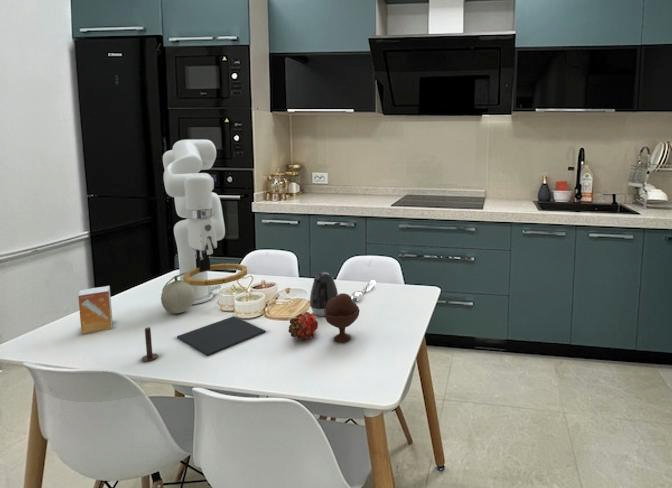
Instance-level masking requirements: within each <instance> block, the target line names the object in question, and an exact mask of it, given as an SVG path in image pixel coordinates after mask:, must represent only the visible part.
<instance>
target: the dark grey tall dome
mask: <svg viewBox="0 0 672 488" xmlns="http://www.w3.org/2000/svg"><path fill="white" fill-rule="evenodd" d="M338 295H339V292H338V288H337V285H336V282H335V280H334V278H333V275H331V273H329V272H328V271H320V272H318V273H317V275H316V276H315V278H314V279H313V282H312V286H311V290H310V294H309V307H310V308H311V311H312V312H313V314H314V315H317V316H319V317H325V313H324V310H325V309H326V305H327V303H328V301H329V300H330V299H332V298H333V297H336V296H338Z"/></svg>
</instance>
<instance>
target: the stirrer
mask: <svg viewBox="0 0 672 488" xmlns="http://www.w3.org/2000/svg"><path fill="white" fill-rule="evenodd" d="M376 283H377V282H376V281H375V280H370V281H368V282H367V284H366V286H365V289H364V290H362V291H360V290H357V291H354V292H353V293H351V295H350V297H351V298H352V302H354V303H357V302H359V301H360V300H361V299H362V298H363V296H364V293H367V292H370V291H371V290H372V289H373V288H374V287H375V286H376Z"/></svg>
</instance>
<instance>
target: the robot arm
mask: <svg viewBox="0 0 672 488" xmlns="http://www.w3.org/2000/svg"><path fill="white" fill-rule="evenodd" d="M216 159H217V148H216V145H215V144H214V142H213V141H212V140H210V139H180V140H178V141H176V142H175V143H174V144H173V145H172V149H170V150H167V151H165V152H164V153H163V155H162V164H163V169H164V171H163V184H164V189H165V192H166V194H167V195H168V196H169V197H171V198H174V199H173V200H174V206H175V212H176V214H177V216H178V217H179V218H182V219H181V220H179V221H178V222H176V223H175V224H174V226H173V235H174V240H175V243H176V248H177V257H178V269H179V270H178V273H179V274H182V273H186V272H189V271H191V270H193V269H196V268H200V272H201V273H198V274H196V275H194V276H192V277H190V278H193V279H197V280H209V275H208V274H209V273H208V271H207V270H209V271H211V270H210V265H211V260H210V259H211V255H213V254H214V250H213V249H217V247H218V241H221V240H223V239H224V238H225V236H226V226H225V220H224V214H223V207H222V203H221V199H220V196H219V195H218V194H217V193H216V192H213V190H214V189H215V182H214V178H213V177H212V176H211V175H210V174H209V173H207V172H200V171H205V170H210V169H212V168H213V165H214V163H215V161H216ZM183 218H184V219H183ZM203 271H205V272H203ZM183 277H184V275H181V276H179V280H183ZM221 285H222V284H218V285H210V286H207V285H206V286H196V285H191V286H192V287H193V289H194V294H195V296H194V301H193V304H192V305H198V304H199V305H200V304H203V303H206V302H208V301H210V300H212V299H213V298H214V291H216V290H219V289H222V286H221ZM192 305H191V306H192Z"/></svg>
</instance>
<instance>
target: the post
mask: <svg viewBox="0 0 672 488" xmlns="http://www.w3.org/2000/svg"><path fill="white" fill-rule="evenodd" d="M151 329H152V328H151V327H150V326H148V327H147V326H146V327H145V328H144V337H145V338H144V339H145V350H146V351H145V352H146V354H145V355H143V356H142V358H141V362H143V363H148V362H152V361H155V360H157V359H158V358H159V354H158V353H153V342H152V330H151Z"/></svg>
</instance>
